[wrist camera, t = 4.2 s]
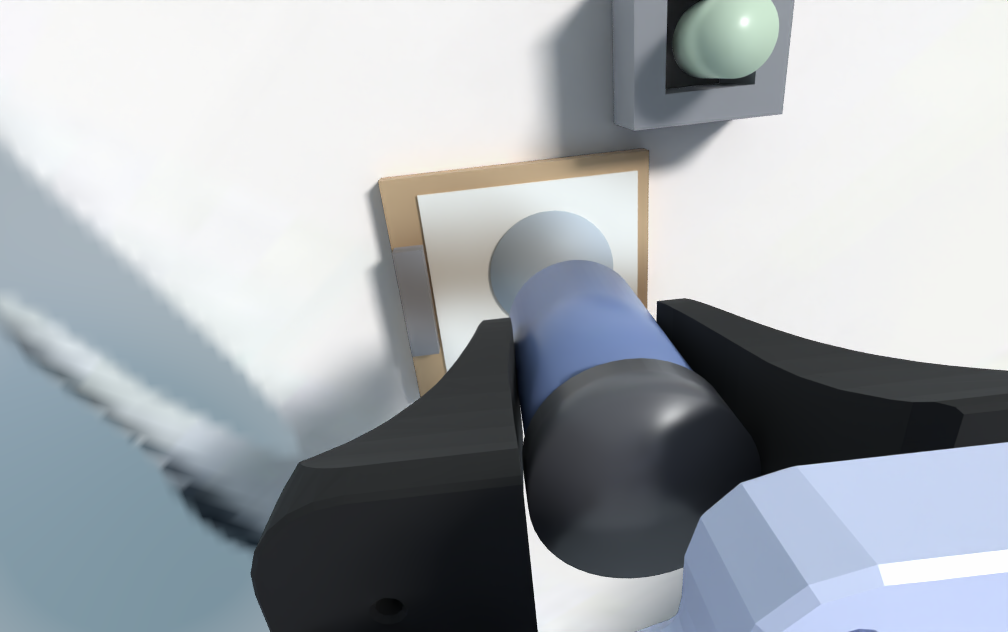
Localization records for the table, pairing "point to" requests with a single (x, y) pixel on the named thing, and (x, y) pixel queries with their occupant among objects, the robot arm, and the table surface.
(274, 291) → the table surface
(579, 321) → the blue small bottle
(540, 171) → the clipboard
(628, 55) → the button housing
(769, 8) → the button
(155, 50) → the table surface
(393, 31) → the table surface
